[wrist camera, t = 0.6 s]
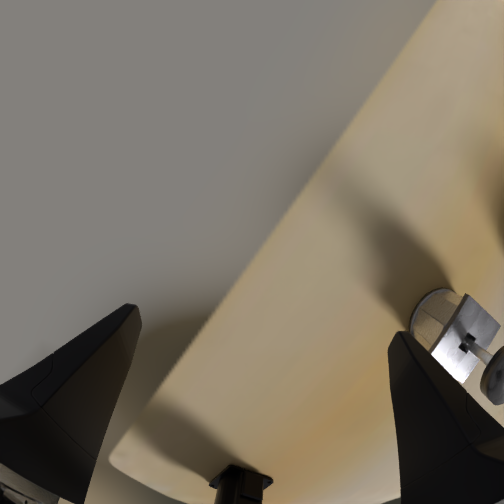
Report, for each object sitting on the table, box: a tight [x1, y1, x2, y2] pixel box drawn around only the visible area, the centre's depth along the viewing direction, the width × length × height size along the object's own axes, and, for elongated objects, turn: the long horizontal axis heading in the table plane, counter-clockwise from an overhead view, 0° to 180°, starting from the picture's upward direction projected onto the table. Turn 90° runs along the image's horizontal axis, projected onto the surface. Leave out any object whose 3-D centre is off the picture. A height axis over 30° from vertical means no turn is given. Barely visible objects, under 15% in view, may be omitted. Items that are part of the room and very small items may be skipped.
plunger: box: [458, 333, 504, 405], centre depth 16 cm, size 5×5×8 cm
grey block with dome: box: [409, 288, 501, 383], centre depth 22 cm, size 7×8×6 cm
